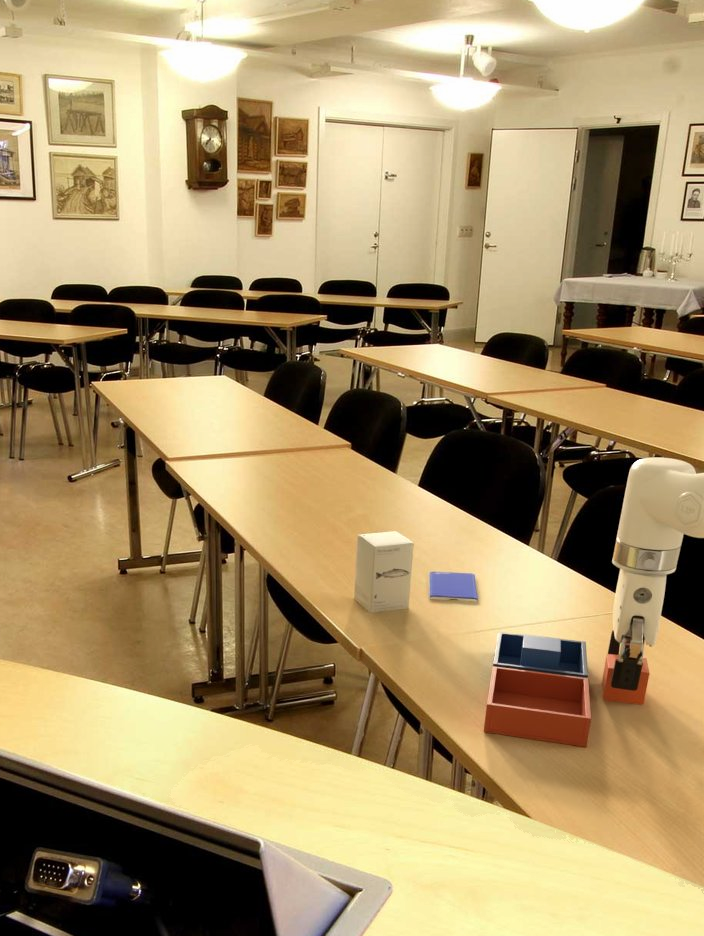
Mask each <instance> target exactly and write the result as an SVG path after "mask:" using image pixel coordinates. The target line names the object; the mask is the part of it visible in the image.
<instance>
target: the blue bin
mask: <svg viewBox="0 0 704 936" xmlns="http://www.w3.org/2000/svg"><path fill="white" fill-rule="evenodd" d="M524 635H525V634H520V633H514V632H513V633H512V632H502V631H497V636H496V644H495V648H494V649H495V650H494V655H493V656H494V657H493V663H492V667H493V666H495V667H503V668H511V669H519V670H527V671H535V672H543V673H551V674H559V675H567V676H575V677H583V678H588V679H589V668H588V656H587V655H588V654H587V642H586V641H581V640H574V639H564V638H560V639H561V654H560V661H559V668H558V670H552V669H544V668H536V667H528V666H520V660H521V652H522V644H523V637H524Z"/></svg>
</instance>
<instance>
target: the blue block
mask: <svg viewBox="0 0 704 936" xmlns="http://www.w3.org/2000/svg"><path fill="white" fill-rule="evenodd" d="M523 635H524V637H523V644H522V652H521V660H520V666H528V667H536V668H544V669H552V670H558V668H559V661H560V654H561V639H562V638H560V637H559V638H558V637H550V636H542V635H531V634H523Z"/></svg>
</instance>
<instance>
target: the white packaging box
mask: <svg viewBox="0 0 704 936" xmlns="http://www.w3.org/2000/svg"><path fill="white" fill-rule="evenodd" d="M414 545H415V543H414V541H412V540H411V539H409V538H408V537H406V536H404V535H403V534H401V533H399V532H398V531H396V530H394V531H384V532H373V533H363V534H357V536H356V551H355V552H356V553H355V571H354V572H355V573H354V588H353V589H354V592H353V599H354V600H355V601H357V603H358V604H359V605H360V606H361V607H363V609H365V610H366V611H367V613H368V612H369V613H370V614H371V613H372V614H373V613H380V612H388V611H397V610H405V609H409V608H410V596H411V595H410V593H411V581H412V568H413V558H414V557H413V556H414Z"/></svg>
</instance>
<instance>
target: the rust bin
mask: <svg viewBox="0 0 704 936" xmlns="http://www.w3.org/2000/svg"><path fill="white" fill-rule="evenodd" d="M590 695H591V694H590V683H589V677H588V678H583V677H575V676H567V675H559V674H551V673H543V672H535V671H527V670H519V669H511V668H503V667H495V666H493V665H492V669H491V676H490V680H489V688H488V695H487V702H486V709H485V716H484V725H483V732H484V733H487V734H489V733H490V734H496V735H502V736H509V737H515V738H516V737H517V738H523V739H528V740H529V739H530V740H536V741H542V742H548V743H556V744H562V745H570V746H576V747H583V748H587V747H588V741H589V734H590V728H591V722H592V713H591V712H592V711H591V699H590V698H591V697H590Z"/></svg>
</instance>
